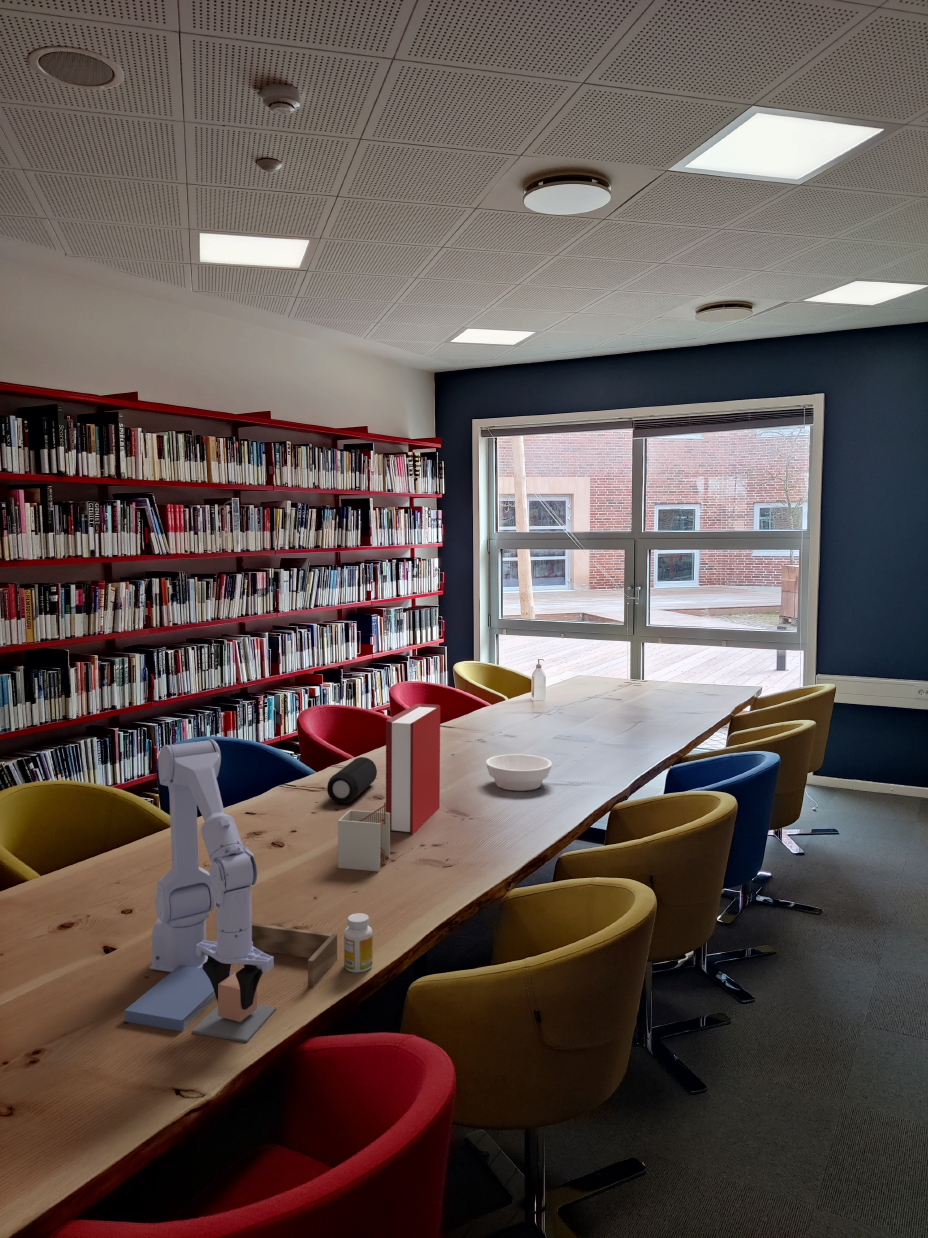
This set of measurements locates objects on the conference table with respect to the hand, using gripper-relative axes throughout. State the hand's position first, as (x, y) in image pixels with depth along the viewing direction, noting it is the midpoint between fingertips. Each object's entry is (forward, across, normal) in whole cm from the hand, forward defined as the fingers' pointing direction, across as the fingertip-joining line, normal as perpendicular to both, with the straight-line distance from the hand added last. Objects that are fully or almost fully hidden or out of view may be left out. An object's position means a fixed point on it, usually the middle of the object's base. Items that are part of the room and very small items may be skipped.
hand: (235, 1003), depth 141 cm
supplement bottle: (+3, -10, -25) cm, 27 cm away
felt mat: (+3, 0, 0) cm, 3 cm away
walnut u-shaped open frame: (+3, +5, -18) cm, 19 cm away
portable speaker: (+3, +49, -122) cm, 132 cm away
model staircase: (+4, +16, -71) cm, 73 cm away
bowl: (+3, +3, -154) cm, 154 cm away
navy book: (+4, +13, -1) cm, 13 cm away
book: (+3, +20, -108) cm, 110 cm away
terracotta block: (+2, 0, -1) cm, 2 cm away
